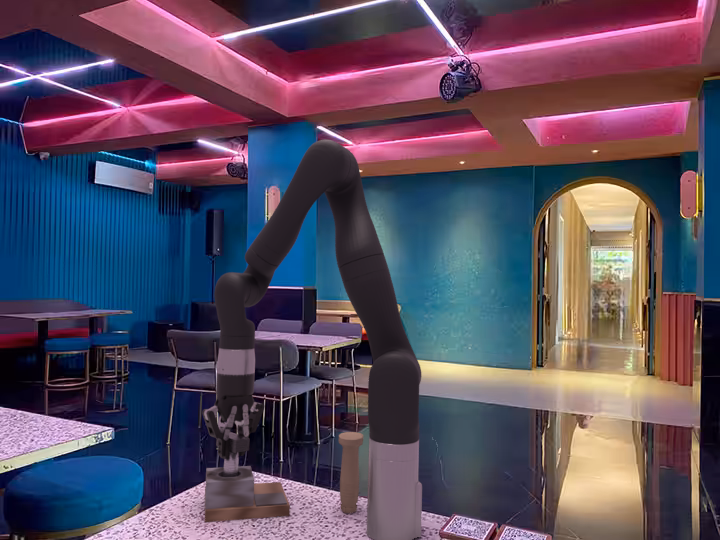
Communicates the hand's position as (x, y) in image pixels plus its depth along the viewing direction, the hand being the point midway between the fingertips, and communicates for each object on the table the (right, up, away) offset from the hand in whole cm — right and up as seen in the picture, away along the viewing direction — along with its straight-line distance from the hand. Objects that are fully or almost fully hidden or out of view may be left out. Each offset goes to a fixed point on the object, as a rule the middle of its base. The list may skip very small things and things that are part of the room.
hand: (232, 456), depth 112 cm
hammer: (-1, -7, -1) cm, 7 cm away
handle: (+24, -11, 0) cm, 26 cm away
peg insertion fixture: (+2, -10, +1) cm, 11 cm away
